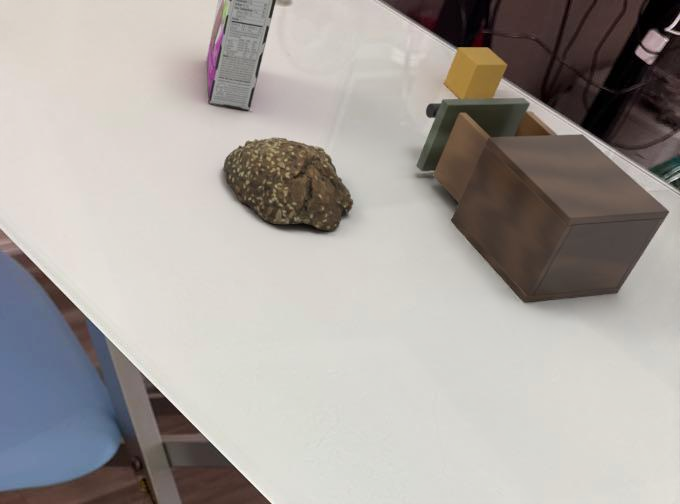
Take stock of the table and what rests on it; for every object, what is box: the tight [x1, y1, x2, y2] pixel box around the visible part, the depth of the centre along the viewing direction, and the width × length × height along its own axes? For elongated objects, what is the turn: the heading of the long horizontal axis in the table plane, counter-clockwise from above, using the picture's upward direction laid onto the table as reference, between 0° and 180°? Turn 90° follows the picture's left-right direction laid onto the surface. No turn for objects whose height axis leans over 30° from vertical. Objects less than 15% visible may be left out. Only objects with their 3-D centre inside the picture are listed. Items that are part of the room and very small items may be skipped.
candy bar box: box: [206, 0, 277, 111], centre depth 104 cm, size 11×5×16 cm, turn 179°
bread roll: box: [222, 137, 354, 232], centre depth 95 cm, size 13×12×5 cm
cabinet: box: [450, 133, 670, 303], centre depth 94 cm, size 13×11×9 cm
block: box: [443, 46, 508, 99], centre depth 118 cm, size 4×4×4 cm
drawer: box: [415, 97, 558, 204], centre depth 100 cm, size 17×10×7 cm, turn 20°
